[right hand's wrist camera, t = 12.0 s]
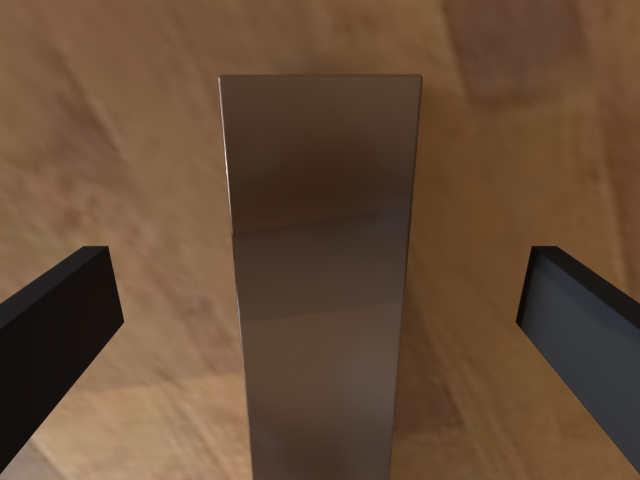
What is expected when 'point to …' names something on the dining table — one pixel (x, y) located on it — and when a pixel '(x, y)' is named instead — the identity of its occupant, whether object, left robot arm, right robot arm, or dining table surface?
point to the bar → (320, 263)
